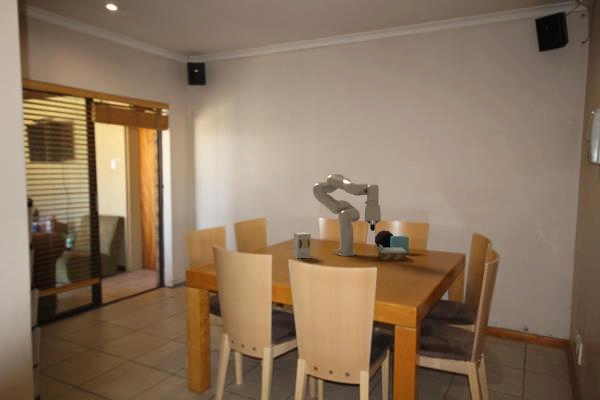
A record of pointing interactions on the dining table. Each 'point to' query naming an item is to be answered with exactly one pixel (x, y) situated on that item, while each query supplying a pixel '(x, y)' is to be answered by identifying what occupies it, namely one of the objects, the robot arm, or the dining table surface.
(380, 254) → the box
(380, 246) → the cover plate
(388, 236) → the decorative orb
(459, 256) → the dining table surface
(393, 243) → the data package
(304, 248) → the supplement box
